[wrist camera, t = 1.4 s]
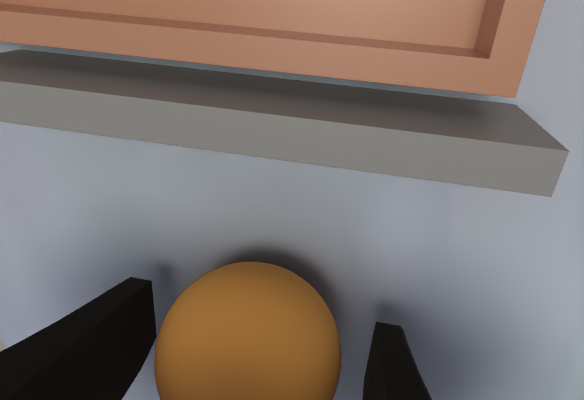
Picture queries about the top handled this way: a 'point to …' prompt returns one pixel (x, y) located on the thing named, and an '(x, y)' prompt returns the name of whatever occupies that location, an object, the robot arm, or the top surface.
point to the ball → (248, 338)
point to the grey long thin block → (284, 120)
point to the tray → (301, 36)
